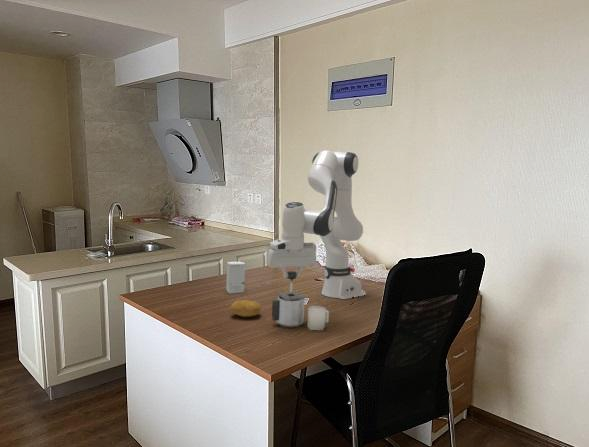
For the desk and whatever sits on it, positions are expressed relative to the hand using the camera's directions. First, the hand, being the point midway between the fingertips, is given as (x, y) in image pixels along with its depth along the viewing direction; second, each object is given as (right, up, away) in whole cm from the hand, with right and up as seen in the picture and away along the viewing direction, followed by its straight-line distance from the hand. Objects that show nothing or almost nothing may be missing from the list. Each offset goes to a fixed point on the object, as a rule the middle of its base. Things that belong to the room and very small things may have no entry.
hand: (291, 277), depth 176 cm
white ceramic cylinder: (+10, -20, -2) cm, 22 cm away
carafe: (-2, -19, +2) cm, 19 cm away
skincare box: (-28, -13, +44) cm, 54 cm away
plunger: (0, -13, +2) cm, 13 cm away
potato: (-19, -18, +9) cm, 28 cm away
